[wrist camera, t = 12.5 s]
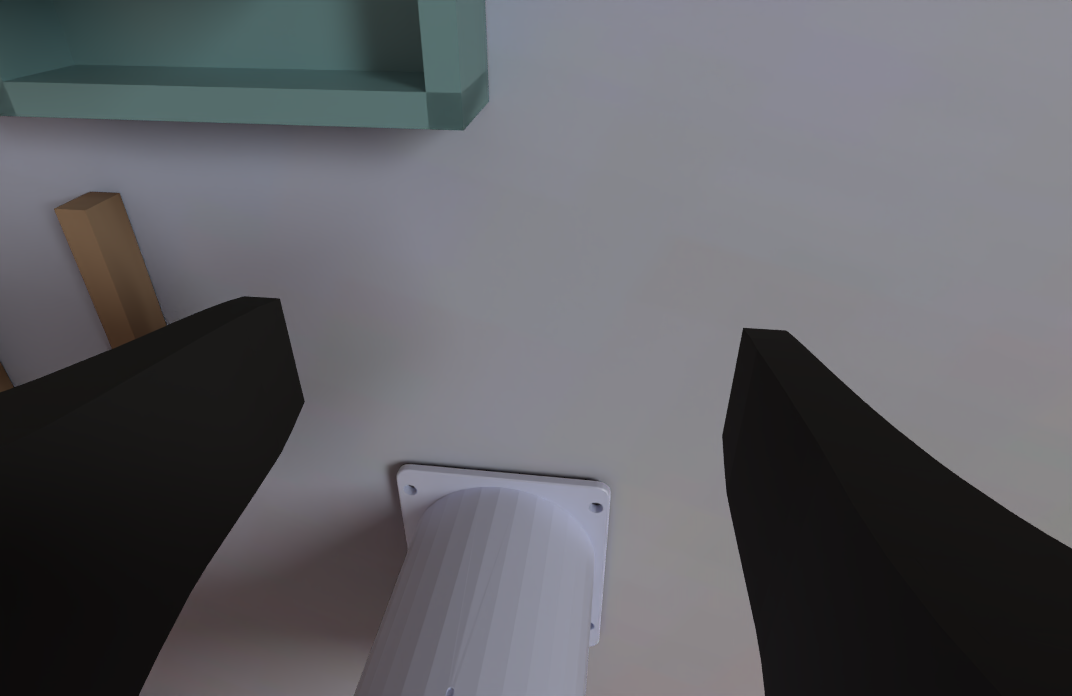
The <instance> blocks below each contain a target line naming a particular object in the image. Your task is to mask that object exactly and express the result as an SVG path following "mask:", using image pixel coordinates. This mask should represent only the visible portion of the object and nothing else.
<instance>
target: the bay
mask: <svg viewBox="0 0 1072 696" xmlns="http://www.w3.org/2000/svg"><path fill="white" fill-rule="evenodd" d="M54 210H55V213H56V215H57V217H58V220H59V222H60V225H61V227H62V229H63V232H64V234H65V237H66V239H67V241H68V244H69V246H70V249H71V251H72V253H73V256H74V258H75V261H76V263H77V265H78V268H79V270H80V273H81V275H82V278H83V280H84V282H85V285H86V287H87V290H88V292H89V294H90V297H91V299H92V302H93V304H94V306H95V309H96V311H97V314H98V316H99V318H100V321H101V323H102V326H103V328H104V330H105V333H106V335H107V338H108V340H109V342H110V345H111V347H112V349H113V348H116V347H118V346H120V345H123V344H125V343H127V342H130V341H132V340H134V339H137V338H139V337H141V336H144V335H146V334H148V333H151V332H153V331H155V330H158V329H160V328H162V327H165V326H167V325H166V323H165V320H164V317H163V314H162V311H161V309H160V306H159V303H158V300H157V297H156V294H155V292H154V289H153V286H152V283H151V280H150V278H149V275H148V272H147V269H146V266H145V263H144V261H143V258H142V255H141V252H140V249H139V247H138V244H137V241H136V238H135V235H134V232H133V230H132V227H131V224H130V221H129V218H128V216H127V213H126V210H125V207H124V204H123V201H122V199H121V196H120V193H107V192H88V193H86V194H84V195H82V196H80V197H78V198H76V199H74V200H72V201H69V202H67V203H65V204H63V205H61V206H59V207H57V208H55V209H54ZM11 388H14V387H13V385H12V383H11V381H10V379H9V377H8V375H7V373H6V372H5V370H4V368H3V366H2V364H1V362H0V392H3V391H6V390H8V389H11Z"/></svg>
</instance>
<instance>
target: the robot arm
mask: <svg viewBox="0 0 1072 696" xmlns="http://www.w3.org/2000/svg"><path fill="white" fill-rule="evenodd" d="M304 402H305V401H304V397H303V393H302V389H301V385H300V381H299V377H298V372H297V368H296V364H295V360H294V356H293V352H292V348H291V343H290V339H289V335H288V331H287V327H286V323H285V318H284V314H283V310H282V306H281V302H280V299H277V298H261V297H245V296H244V297H240V298H237V299H233V300H230V301H227V302H224V303H221V304H218V305H216V306H213V307H210V308H208V309H205V310H203V311H200V312H198V313H195V314H193V315H191V316H188V317H186V318H183V319H181V320H179V321H176V322H174V323H172V324H169V325H167V326H165V327H162V328H160V329H158V330H155V331H153V332H151V333H148V334H146V335H144V336H141V337H139V338H137V339H134V340H132V341H130V342H127V343H125V344H123V345H120V346H118V347H116V348H113V349H111V350H109V351H106V352H104V353H101V354H99V355H96V356H94V357H91V358H89V359H86V360H84V361H81V362H79V363H76V364H74V365H71V366H69V367H66V368H64V369H61V370H59V371H56V372H54V373H51V374H49V375H46V376H44V377H41V378H39V379H36V380H33V381H31V382H28V383H25V384H22V385H20V386H17V387H14V388H11V389H8V390H6V391H3V392H0V696H138V695H139V693H140V691H141V689H142V687H143V685H144V683H145V681H146V679H147V677H148V675H149V673H150V671H151V669H152V666H153V664H154V662H155V660H156V658H157V656H158V654H159V652H160V650H161V648H162V646H163V644H164V642H165V641H166V639H167V637H168V635H169V633H170V631H171V629H172V627H173V625H174V623H175V621H176V620H177V618H178V616H179V614H180V612H181V610H182V608H183V606H184V604H185V602H186V600H187V598H188V597H189V595H190V593H191V591H192V590H193V588H194V586H195V585H196V583H197V581H198V580H199V578H200V576H201V575H202V573H203V571H204V570H205V568H206V567H207V565H208V564H209V562H210V561H211V559H212V557H213V556H214V554H215V553H216V551H217V550H218V548H219V547H220V545H221V544H222V542H223V541H224V539H225V538H226V536H227V535H228V533H229V532H230V530H231V529H232V527H233V526H234V524H235V523H236V521H237V520H238V518H239V517H240V515H241V514H242V512H243V511H244V509H245V508H246V506H247V505H248V503H249V502H250V500H251V499H252V497H253V496H254V494H255V493H256V491H257V490H258V488H259V487H260V485H261V484H262V482H263V481H264V479H265V477H266V476H267V474H268V473H269V471H270V470H271V468H272V467H273V465H274V463H275V462H276V460H277V459H278V457H279V455H280V454H281V452H282V450H283V448H284V446H285V444H286V442H287V440H288V438H289V436H290V434H291V432H292V430H293V427H294V425H295V423H296V420H297V418H298V416H299V413H300V411H301V409H302V407H303V404H304ZM722 438H723V453H724V468H725V479H726V491H727V497H728V502H729V507H730V512H731V517H732V521H733V526H734V531H735V536H736V540H737V545H738V550H739V554H740V559H741V563H742V568H743V573H744V577H745V582H746V587H747V591H748V596H749V600H750V605H751V610H752V614H753V619H754V623H755V628H756V634H757V639H758V645H759V651H760V657H761V663H762V672H763V681H764V690H765V696H1072V549H1071V548H1070V547H1068V546H1066V545H1065V544H1063V543H1061V542H1059V541H1058V540H1056V539H1054V538H1053V537H1051V536H1049V535H1047V534H1046V533H1044V532H1042V531H1041V530H1039V529H1038V528H1036V527H1034V526H1033V525H1031V524H1030V523H1028V522H1026V521H1025V520H1023V519H1022V518H1020V517H1018V516H1017V515H1015V514H1014V513H1012V512H1010V511H1009V510H1008V509H1006V508H1005V507H1003V506H1002V505H1000V504H999V503H997V502H996V501H994V500H993V499H991V498H990V497H988V496H987V495H985V494H984V493H982V492H981V491H979V490H978V489H976V488H975V487H973V486H972V485H970V484H969V483H967V482H966V481H965V480H963V479H962V478H960V477H959V476H957V475H956V474H955V473H953V472H952V471H950V470H949V469H948V468H946V467H945V466H944V465H942V464H941V463H939V462H938V461H937V460H935V459H934V458H933V457H932V456H930V455H929V454H928V453H926V452H925V451H924V450H923V449H921V448H920V447H919V446H918V445H916V444H915V443H914V442H912V441H911V440H910V439H909V438H907V437H906V436H905V435H904V434H902V433H901V432H900V431H898V430H897V429H896V428H895V427H894V426H892V425H891V424H890V423H889V422H888V421H886V420H885V419H884V418H883V417H882V416H880V415H879V414H878V413H877V412H876V411H875V410H873V409H872V408H871V407H870V406H869V405H868V404H867V403H865V402H864V401H863V400H862V399H861V398H860V397H859V396H858V395H856V394H855V393H854V392H853V391H852V390H851V389H850V388H849V387H848V386H846V385H845V384H844V383H843V382H842V381H841V380H840V379H839V378H838V377H837V376H836V375H834V374H833V373H832V372H831V371H830V370H829V369H828V368H827V367H826V366H825V365H824V364H823V363H822V362H821V361H819V360H818V359H817V358H816V357H815V356H814V355H813V354H812V353H811V352H810V351H809V350H808V349H807V348H806V347H805V346H803V345H802V344H801V343H800V342H799V341H798V340H797V339H796V338H795V337H793V336H792V335H791V334H790V333H789V332H787V331H784V330H768V329H752V328H743V332H742V337H741V342H740V347H739V352H738V358H737V363H736V368H735V373H734V378H733V383H732V389H731V394H730V399H729V404H728V409H727V414H726V419H725V425H724V430H723V435H722ZM396 480H397V486H398V492H399V499H400V505H401V511H402V517H403V524H404V530H405V536H406V542H407V549H408V552H407V554H406V557H405V560H404V563H403V565H402V568H401V571H400V573H399V576H398V579H397V581H396V584H395V587H394V589H393V592H392V595H391V597H390V600H389V603H388V605H387V608H386V611H385V613H384V616H383V619H382V621H381V624H380V627H379V629H378V632H377V635H376V638H375V640H374V643H373V646H372V648H371V651H370V654H369V656H368V659H367V662H366V664H365V667H364V670H363V672H362V675H361V678H360V680H359V683H358V686H357V688H356V691H355V694H354V696H586V683H587V668H588V654H589V646H594V645H596V644H597V643H598V642H599V635H600V623H601V610H602V598H603V585H604V573H605V560H606V548H607V536H608V523H609V511H610V498H611V491H610V488H609V487H608V485H606V484H605V483H603V482H599V481H591V480H580V479H569V478H558V477H547V476H536V475H525V474H514V473H503V472H492V471H481V470H470V469H459V468H448V467H437V466H426V465H415V464H405V465H403V466H401V467H400V469H399V471H398V473H397V476H396ZM409 485H411V486H414V487H415V488H413V487H410V486H409ZM592 503H599V504H600V505H594V504H592Z"/></svg>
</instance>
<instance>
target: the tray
mask: <svg viewBox="0 0 1072 696" xmlns="http://www.w3.org/2000/svg"><path fill="white" fill-rule="evenodd" d="M488 102H489V90H488V65H487V39H486V14H485V0H0V116H22V117H54V118H86V119H118V120H150V121H181V122H213V123H245V124H277V125H309V126H341V127H373V128H404V129H436V130H464V129H465V128H466V127H467V126H468V125H469V124H470V122H471V121H472V120H473V119H474V118H475V117H476V116H477V114H478V113H479V112H480V111H481V110H482V109H483V108H484V107H485V105H486V104H487V103H488Z"/></svg>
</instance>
